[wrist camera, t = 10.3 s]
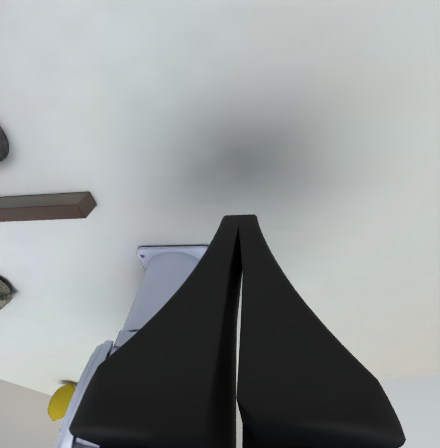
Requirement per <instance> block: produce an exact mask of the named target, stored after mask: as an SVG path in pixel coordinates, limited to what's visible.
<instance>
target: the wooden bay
mask: <svg viewBox="0 0 440 448" xmlns="http://www.w3.org/2000/svg"><path fill="white" fill-rule="evenodd" d="M95 206H96V203H95V202H94V200H93V198H92V196H91V194H90V193H89V192H82V193H65V194H48V195H30V196H13V197H0V222H5V221H30V220H54V219H78V218H86V217H87V216H88V215H89V214H90V213H91V211H92V210H93V209H94V208H95Z"/></svg>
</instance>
